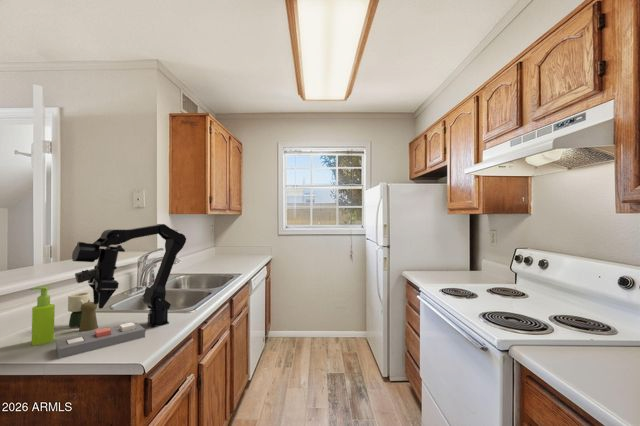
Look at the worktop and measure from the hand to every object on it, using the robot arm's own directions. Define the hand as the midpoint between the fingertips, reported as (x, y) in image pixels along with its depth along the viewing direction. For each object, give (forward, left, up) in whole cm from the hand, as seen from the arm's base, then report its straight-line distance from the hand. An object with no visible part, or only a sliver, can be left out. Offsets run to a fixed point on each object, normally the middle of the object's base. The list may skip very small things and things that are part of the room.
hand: (98, 306), depth 109 cm
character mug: (+2, -25, -13) cm, 28 cm away
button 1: (+7, +5, -12) cm, 15 cm away
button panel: (-1, +5, -13) cm, 14 cm away
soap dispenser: (+14, -12, -13) cm, 22 cm away
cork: (0, -16, -13) cm, 20 cm away
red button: (-1, +5, -11) cm, 12 cm away
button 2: (-8, +5, -11) cm, 14 cm away
